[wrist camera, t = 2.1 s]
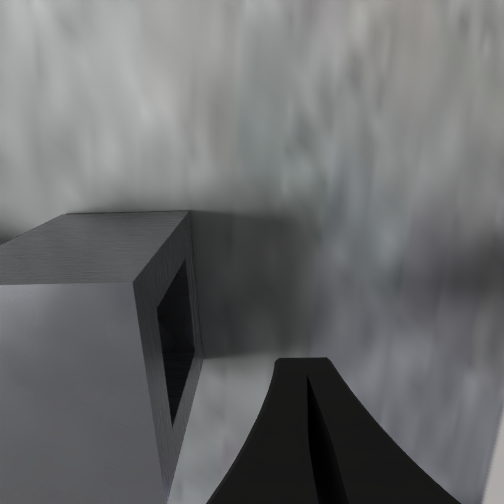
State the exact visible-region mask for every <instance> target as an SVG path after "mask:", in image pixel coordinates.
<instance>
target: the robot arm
mask: <svg viewBox="0 0 504 504" xmlns="http://www.w3.org/2000/svg"><path fill="white" fill-rule="evenodd" d="M206 504H461V503H460V502H459V501H457V500H456V499H455V498H454V497H452V496H451V495H450V494H449V493H448V492H447V491H445V490H444V489H443V488H442V487H441V486H440V485H439V484H437V483H436V482H435V481H434V480H433V479H432V478H431V477H430V476H429V475H428V474H427V473H425V472H424V471H423V470H422V469H421V468H420V467H419V466H418V465H417V464H416V463H415V462H414V461H413V460H412V459H411V458H410V457H409V456H408V455H407V454H406V453H405V452H404V451H403V450H402V449H401V448H400V447H399V446H398V445H397V444H396V443H395V442H394V441H393V439H392V438H391V437H390V436H389V435H388V434H387V433H386V432H385V431H384V430H383V429H382V427H381V426H380V425H379V424H378V423H377V422H376V421H375V419H374V418H373V417H372V416H371V415H370V413H369V412H368V411H367V410H366V409H365V407H364V406H363V405H362V404H361V402H360V401H359V400H358V399H357V397H356V396H355V395H354V394H353V392H352V391H351V390H350V388H349V387H348V385H347V384H346V383H345V381H344V380H343V379H342V377H341V376H340V374H339V373H338V371H337V370H336V368H335V367H334V365H333V364H332V362H331V361H330V360H329V359H328V358H327V357H323V358H279V359H277V360H276V361H275V366H274V372H273V377H272V380H271V383H270V387H269V390H268V393H267V395H266V398H265V400H264V403H263V405H262V408H261V410H260V413H259V415H258V417H257V419H256V421H255V423H254V425H253V427H252V429H251V431H250V433H249V435H248V437H247V439H246V441H245V443H244V445H243V447H242V449H241V450H240V452H239V454H238V456H237V457H236V459H235V461H234V462H233V464H232V466H231V467H230V469H229V470H228V472H227V474H226V475H225V477H224V478H223V480H222V481H221V483H220V484H219V486H218V487H217V489H216V490H215V492H214V493H213V494H212V496H211V497H210V499H209V500H208V502H207V503H206Z"/></svg>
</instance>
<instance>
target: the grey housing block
mask: <svg viewBox="0 0 504 504" xmlns="http://www.w3.org/2000/svg"><path fill="white" fill-rule="evenodd" d="M202 364H203V355H202V344H201V334H200V323H199V312H198V301H197V290H196V279H195V268H194V258H193V247H192V236H191V225H190V214H189V211H167V212H132V213H98V214H64V215H60V216H58V217H56V218H54V219H52V220H50V221H48V222H46V223H44V224H42V225H40V226H38V227H36V228H34V229H32V230H30V231H28V232H26V233H24V234H22V235H19V236H17V237H15V238H13V239H11V240H9V241H7V242H5V243H3V244H1V245H0V504H167V501H168V497H169V493H170V489H171V485H172V481H173V478H174V474H175V470H176V466H177V462H178V458H179V454H180V450H181V446H182V442H183V438H184V434H185V431H186V427H187V423H188V419H189V415H190V411H191V407H192V403H193V399H194V395H195V391H196V387H197V383H198V380H199V376H200V372H201V368H202Z"/></svg>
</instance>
